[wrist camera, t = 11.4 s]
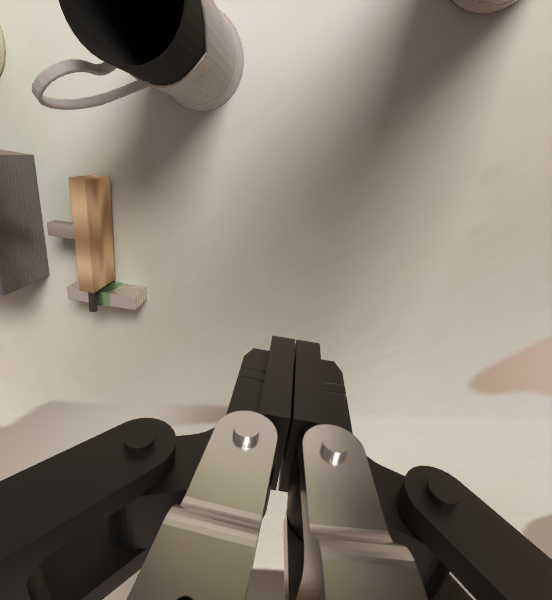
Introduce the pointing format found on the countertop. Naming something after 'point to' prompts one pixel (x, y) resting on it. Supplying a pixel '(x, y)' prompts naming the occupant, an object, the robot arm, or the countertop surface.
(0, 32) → the can
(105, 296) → the set of grey blocks
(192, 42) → the black and white mug
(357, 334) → the countertop surface
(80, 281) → the tan wooden bar
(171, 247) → the countertop surface
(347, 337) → the countertop surface
